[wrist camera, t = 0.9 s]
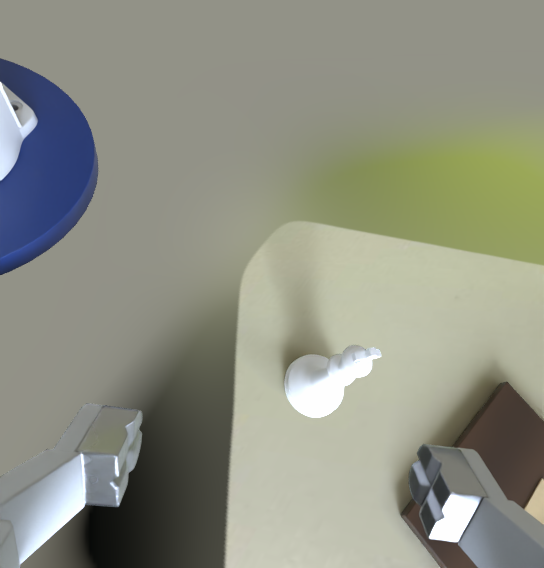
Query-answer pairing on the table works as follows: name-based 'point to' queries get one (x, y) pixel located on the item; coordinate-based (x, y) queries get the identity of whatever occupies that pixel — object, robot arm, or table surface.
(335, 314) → the table surface
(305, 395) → the chess piece
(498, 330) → the table surface
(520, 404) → the board
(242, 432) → the table surface
